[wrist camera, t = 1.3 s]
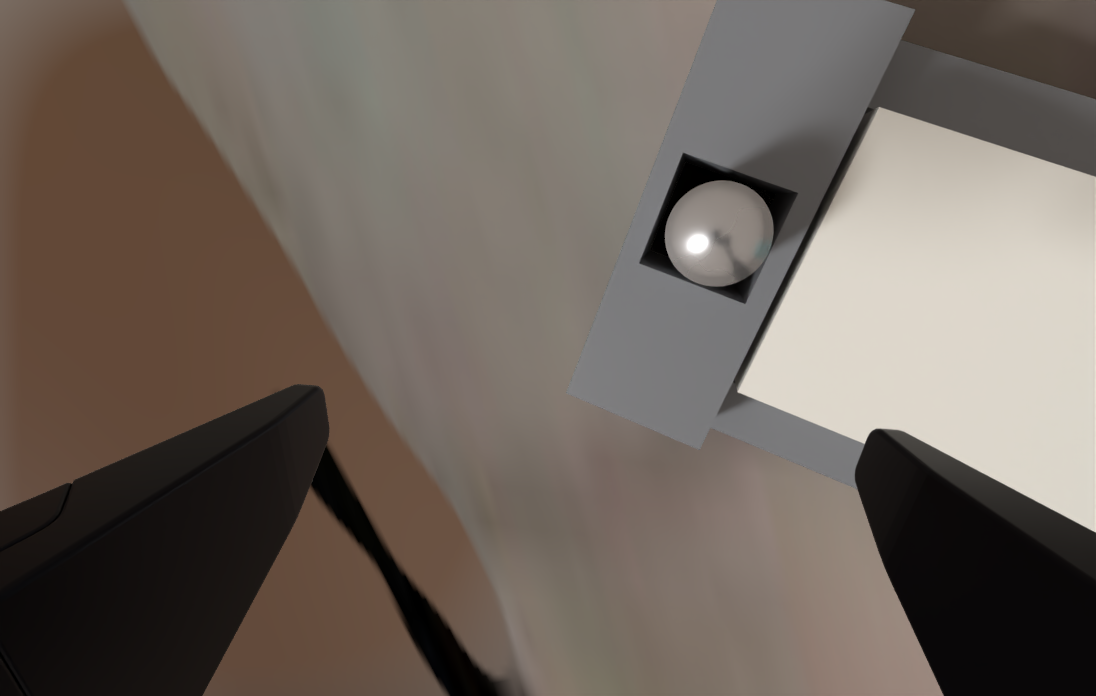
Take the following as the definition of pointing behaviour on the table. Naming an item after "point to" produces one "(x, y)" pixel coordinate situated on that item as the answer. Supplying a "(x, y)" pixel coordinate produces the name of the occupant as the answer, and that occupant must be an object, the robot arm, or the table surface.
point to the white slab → (946, 309)
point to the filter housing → (784, 199)
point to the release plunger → (719, 233)
